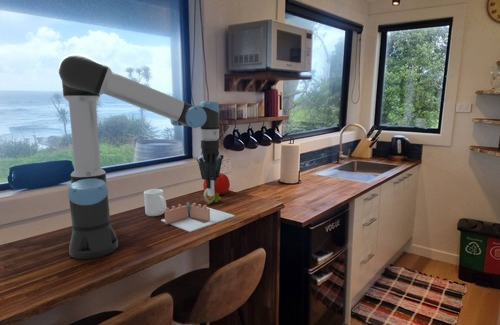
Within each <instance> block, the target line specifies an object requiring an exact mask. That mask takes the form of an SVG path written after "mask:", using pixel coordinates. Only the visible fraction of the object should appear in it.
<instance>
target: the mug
mask: <svg viewBox="0 0 500 325" xmlns="http://www.w3.org/2000/svg"><path fill="white" fill-rule="evenodd" d="M143 201H144V211H145V212H144V213H145V214H146V216H148V217H157V216H161V215H164V214H165V212H164V211H166V208H167V200H166V199H165V197H164V189H161V188H151V189H150V188H149V189H147V190H144V191H143Z"/></svg>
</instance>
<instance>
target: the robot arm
mask: <svg viewBox="0 0 500 325" xmlns="http://www.w3.org/2000/svg"><path fill="white" fill-rule="evenodd" d="M58 65H59V66H58V75H59V77H60V79H61V86H62V97H63V98H64V99H65V101H68V106H69V107H68V109H69V117H70V118H69V119H70V128H71V130H70V131H71V140H72V141H71V142H72V150H73V151H72V154H73V162H74V163H73V165H74V170H73V171H72V172H71V173H70V181H71V182H70V183H71V184H69V186H68V189H67V190H68V191H67V196H68V199H69V209H70V217H71V224H72V225H71V226H72V233H71V238H70V242H69V246H68V252H69V253H68V254H69V256H70V257H71V258H74V259H78V260H88V259H96V258H100V257H103V256H106V255H109V254H111V253H113V252H114V251H116V250H117V249H118V248H119V241H118V237H117V235H116V233H115V231H114V228H113V227H112V224H111V214H110V204H109V195H108V193H109V189H108V188H109V187H108V185H107V173H106V171H105V170H104V169H103V168H102V165H101V153H100V151H101V150H100V142H99V140H100V138H99V125H98V114H97V101H98V100H99V99H100V98H101V96H102V95H107V96H109V97H112V98H115V99H116V100H120V101H122V102H125V103H128V104H130V105H132V106H135V107H138V108H141V109H143V110H146V111H149V112H152V113H154V114H157V115H159V116H162V117H165V118H167V119H169V121H170V124H171V125H172V126H178V127H180V126H181V127H182V126H186V127H190V128H193V129H198V128H200V139H201V140H200V149H201V152H200V156H199V157H196V161H197V164H198V166H199V168H198V169H199V171H200V175H201V176H200V177H201V180H203V181H204V180H206V188H207V195H208V196H214V187H215V180H217V179H216V178H219V175H220V173H221V169H222V161H223V159H224V157H225V156H224V154H223V155H222V154H220V151H219V149H220V140H219V139H220V109H219V108H220V107H219V106H220V105H219V102H217V101H214V100H213V101H204V100H203V101H200V103H199V105H193V104H190V103H188V102H186V101H184V100H181V99H178V98H177V97H174V96H171V95H170V94H167V93H164V92H161V91H159V90H157V89H154V88H152V87H150V86H147V85H145V84H142V83H140V82H138V81H135V80H132V79H130V78H128V77H126V76H123V75H121V74H118V73H115V72H114V71H112V69H111V67H110V66H107V65H105V64H103V63H100V62H99V61H97V60H94V59H93V58H91V57H89V56H87V55H85V54H82V53H71V54H69V55H66V56H64V57H63V58H62V59H61V61H60V63H59V64H58Z"/></svg>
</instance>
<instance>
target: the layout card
mask: <svg viewBox="0 0 500 325" xmlns="http://www.w3.org/2000/svg"><path fill="white" fill-rule="evenodd" d="M207 208H209V209H210V221H205V220H200V219H196V218H192V217H187V218H185V219H182V220H179V221H175V222H172V223H169V224H168V225H171V226H173V227H176V228H178V229H181V230H184V231H186V232H189V233H192V232H195V231H198V230H200V229H204V228H206V227H209V226H212V225H214V224H218V223H221V222H224V221H226V220H229V219H232V218H235V217H236V215H235V214H232V213H228V212H226V211H222V210H218V209H214V208H211V207H208V206H207ZM160 221H161V222H163V223H165V218H162V219H160Z"/></svg>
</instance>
